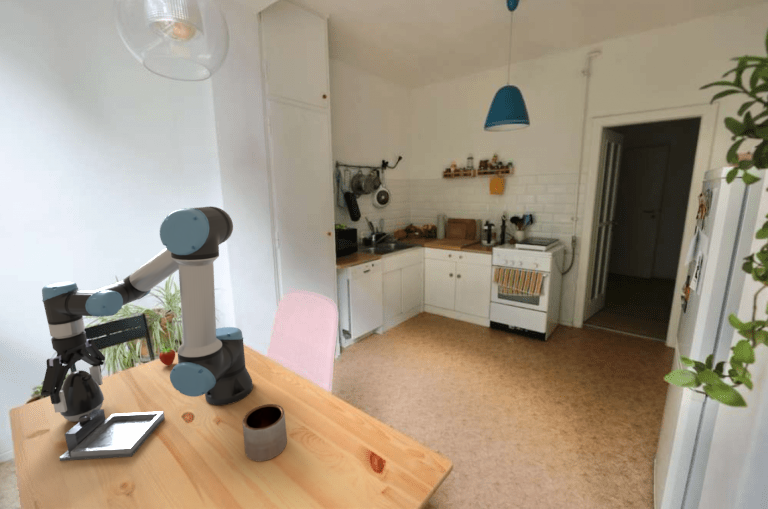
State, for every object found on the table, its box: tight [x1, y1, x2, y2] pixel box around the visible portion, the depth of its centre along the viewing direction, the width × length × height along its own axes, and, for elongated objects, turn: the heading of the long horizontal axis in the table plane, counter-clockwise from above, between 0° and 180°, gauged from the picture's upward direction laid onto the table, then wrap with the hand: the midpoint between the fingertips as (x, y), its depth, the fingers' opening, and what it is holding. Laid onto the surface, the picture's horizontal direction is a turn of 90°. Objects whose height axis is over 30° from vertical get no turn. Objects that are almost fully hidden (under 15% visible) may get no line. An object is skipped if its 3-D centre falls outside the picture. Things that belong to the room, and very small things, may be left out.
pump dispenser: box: [59, 369, 105, 422], centre depth 103 cm, size 10×10×15 cm
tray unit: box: [59, 408, 165, 462], centre depth 94 cm, size 18×15×7 cm
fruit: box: [158, 346, 176, 367], centre depth 134 cm, size 5×5×8 cm
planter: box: [242, 403, 288, 462], centre depth 90 cm, size 11×11×10 cm
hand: (80, 397), depth 103 cm, fingers open, 13 cm apart
